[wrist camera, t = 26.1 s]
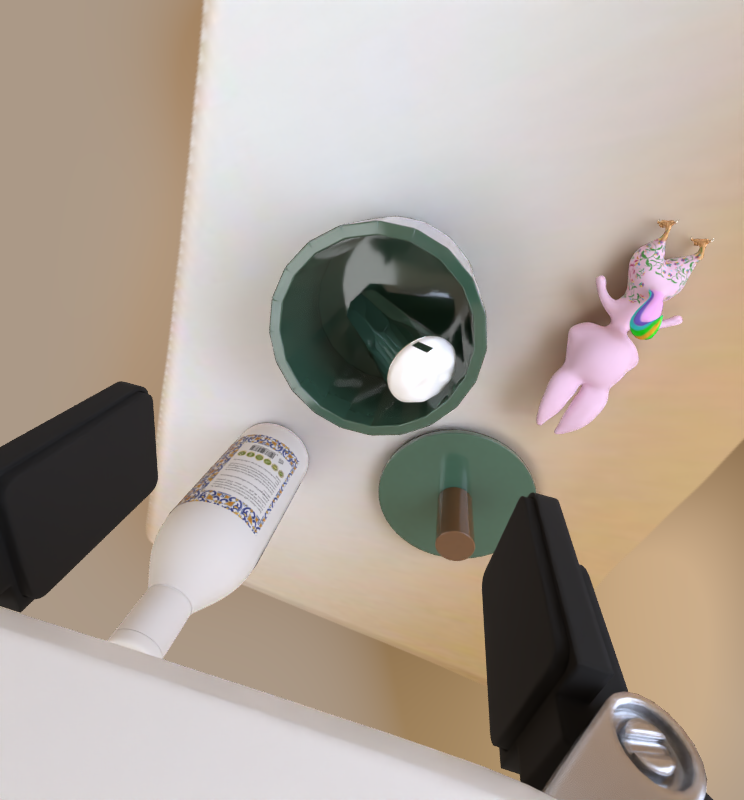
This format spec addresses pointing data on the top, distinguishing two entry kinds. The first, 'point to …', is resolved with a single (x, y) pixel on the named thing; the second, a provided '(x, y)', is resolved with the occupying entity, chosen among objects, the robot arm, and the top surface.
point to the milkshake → (401, 347)
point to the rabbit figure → (616, 333)
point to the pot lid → (453, 492)
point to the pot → (338, 344)
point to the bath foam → (215, 535)
